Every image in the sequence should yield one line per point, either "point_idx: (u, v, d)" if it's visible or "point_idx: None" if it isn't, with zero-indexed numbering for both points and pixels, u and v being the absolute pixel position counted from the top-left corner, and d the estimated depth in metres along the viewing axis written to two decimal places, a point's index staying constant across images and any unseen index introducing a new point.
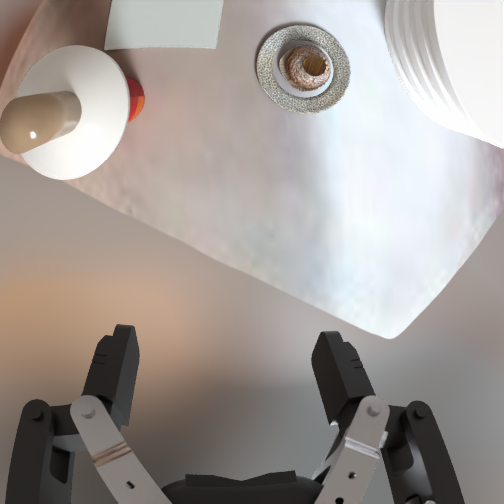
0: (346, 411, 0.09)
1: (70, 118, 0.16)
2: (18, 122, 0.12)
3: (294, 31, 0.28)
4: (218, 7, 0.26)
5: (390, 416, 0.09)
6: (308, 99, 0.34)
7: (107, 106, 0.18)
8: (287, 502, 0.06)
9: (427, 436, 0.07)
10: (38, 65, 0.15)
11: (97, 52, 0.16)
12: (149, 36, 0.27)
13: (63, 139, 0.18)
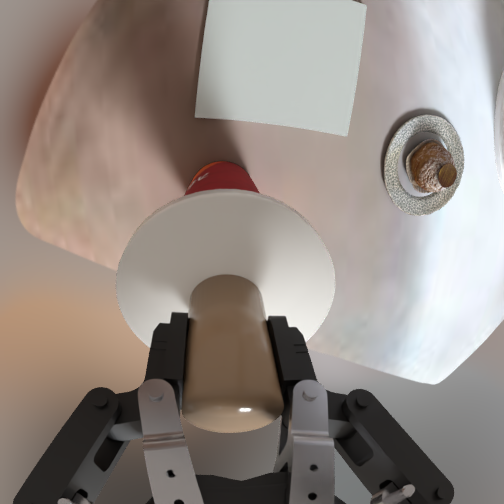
0: (285, 395, 0.10)
1: None
2: (232, 410, 0.09)
3: (423, 121, 0.25)
4: (352, 79, 0.23)
5: (330, 403, 0.09)
6: (423, 199, 0.30)
7: (305, 302, 0.15)
8: None
9: (378, 424, 0.08)
10: (169, 220, 0.12)
11: (300, 223, 0.13)
12: (263, 107, 0.24)
13: None
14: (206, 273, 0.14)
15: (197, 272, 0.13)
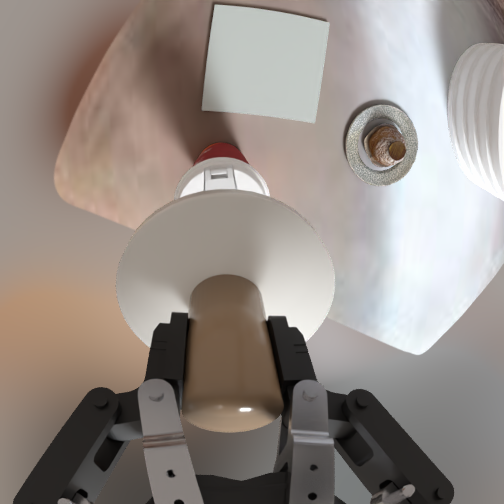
0: (285, 395, 0.10)
1: None
2: (232, 410, 0.09)
3: (378, 110, 0.34)
4: (318, 80, 0.32)
5: (330, 403, 0.09)
6: (383, 172, 0.39)
7: (305, 302, 0.15)
8: (287, 502, 0.06)
9: (378, 423, 0.08)
10: (169, 220, 0.12)
11: (300, 223, 0.13)
12: (251, 103, 0.33)
13: None
14: (206, 273, 0.14)
15: (197, 272, 0.13)
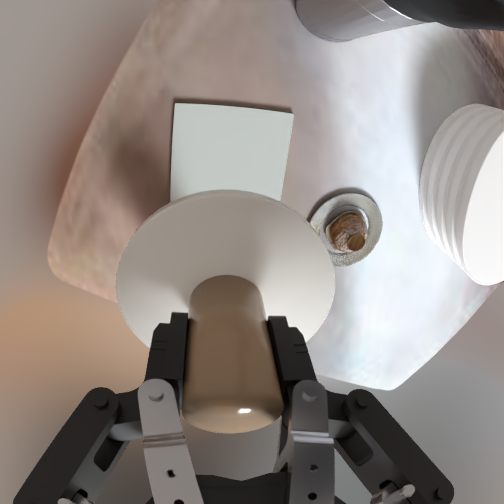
0: (285, 395, 0.10)
1: None
2: (232, 411, 0.09)
3: (341, 199, 0.39)
4: (280, 178, 0.37)
5: (330, 403, 0.09)
6: (345, 254, 0.44)
7: (305, 303, 0.15)
8: (287, 502, 0.06)
9: (378, 423, 0.08)
10: (169, 221, 0.12)
11: (300, 224, 0.13)
12: None
13: None
14: (206, 274, 0.13)
15: (197, 273, 0.13)
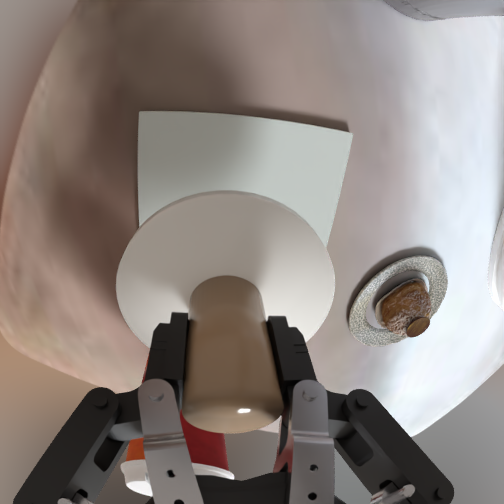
0: (285, 395, 0.10)
1: None
2: (232, 411, 0.09)
3: (403, 265, 0.25)
4: (322, 240, 0.22)
5: (330, 403, 0.09)
6: None
7: (305, 303, 0.15)
8: None
9: (378, 423, 0.08)
10: (169, 221, 0.12)
11: (300, 224, 0.13)
12: None
13: None
14: (206, 274, 0.14)
15: (197, 273, 0.13)
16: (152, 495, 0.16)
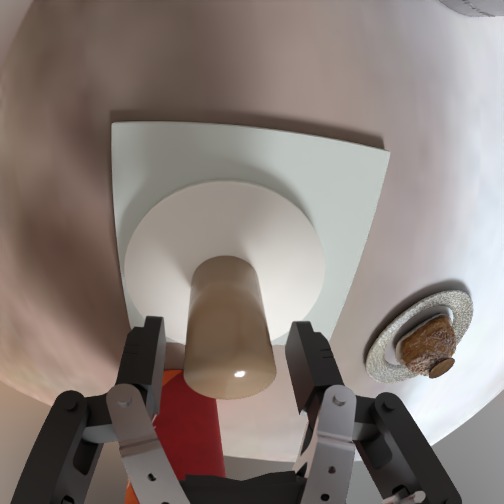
0: (313, 400, 0.10)
1: None
2: (229, 373, 0.11)
3: (430, 302, 0.21)
4: (345, 282, 0.18)
5: (358, 407, 0.09)
6: None
7: (298, 283, 0.16)
8: (287, 502, 0.06)
9: (401, 427, 0.08)
10: (174, 205, 0.13)
11: (291, 208, 0.14)
12: None
13: None
14: (207, 254, 0.15)
15: (199, 253, 0.15)
16: None
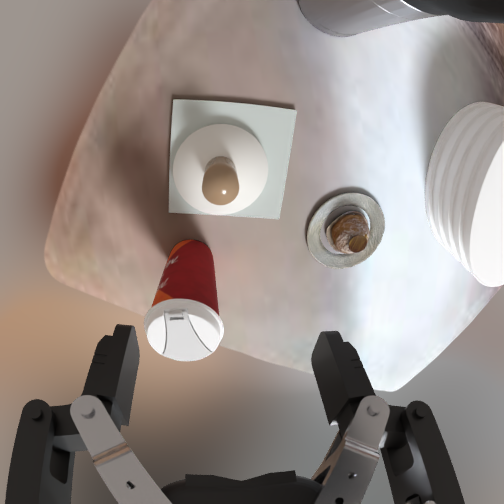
0: (346, 411, 0.09)
1: None
2: (220, 186, 0.28)
3: (342, 199, 0.38)
4: (282, 177, 0.36)
5: (390, 416, 0.09)
6: (346, 255, 0.43)
7: (255, 172, 0.34)
8: (287, 502, 0.06)
9: (427, 436, 0.07)
10: (199, 133, 0.31)
11: (249, 134, 0.32)
12: None
13: None
14: (212, 155, 0.32)
15: (209, 155, 0.32)
16: (163, 353, 0.29)
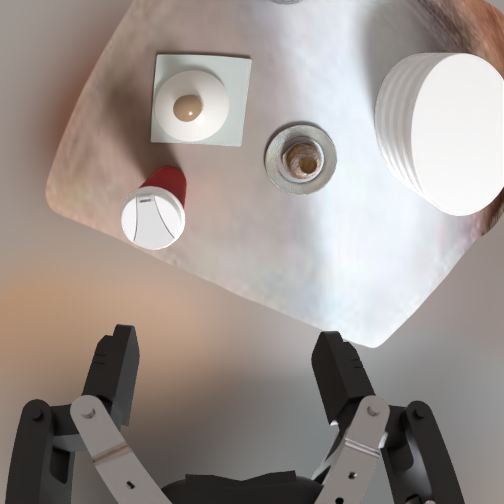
0: (346, 411, 0.09)
1: (202, 109, 0.38)
2: (186, 106, 0.34)
3: (294, 130, 0.44)
4: (242, 111, 0.41)
5: (390, 416, 0.09)
6: (303, 183, 0.49)
7: (218, 105, 0.40)
8: (287, 502, 0.06)
9: (427, 436, 0.07)
10: (175, 77, 0.37)
11: (213, 77, 0.37)
12: None
13: None
14: (185, 94, 0.38)
15: (182, 93, 0.38)
16: (133, 240, 0.35)
